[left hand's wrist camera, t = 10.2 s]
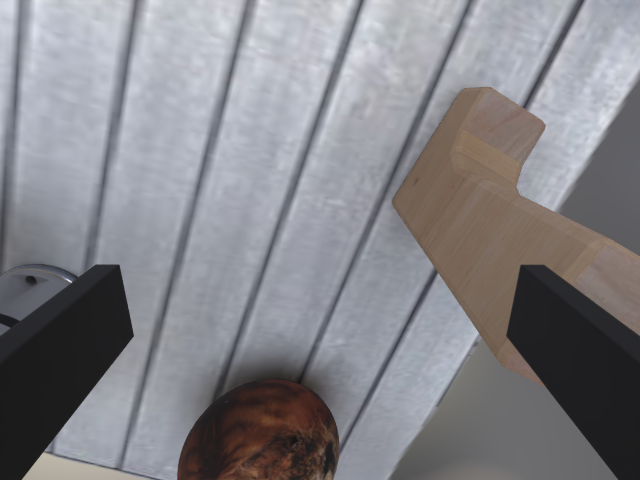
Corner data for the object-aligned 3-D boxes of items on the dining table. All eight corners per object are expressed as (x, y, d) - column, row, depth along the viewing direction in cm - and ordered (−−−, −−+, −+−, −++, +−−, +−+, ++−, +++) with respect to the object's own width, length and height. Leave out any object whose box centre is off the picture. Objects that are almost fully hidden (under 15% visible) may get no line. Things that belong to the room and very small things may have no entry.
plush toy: (265, 522, 58) (167, 610, 40) (225, 408, 65) (125, 441, 47) (388, 463, 53) (337, 533, 35) (330, 346, 60) (263, 355, 42)
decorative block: (516, 120, 43) (898, 163, 14) (439, 231, 47) (615, 427, 19) (462, 85, 41) (764, 60, 13) (388, 203, 46) (496, 369, 18)
